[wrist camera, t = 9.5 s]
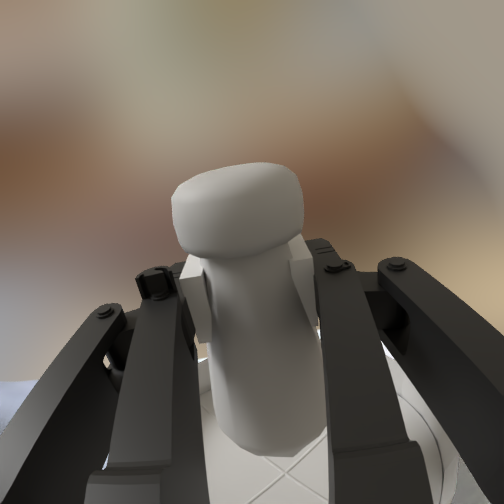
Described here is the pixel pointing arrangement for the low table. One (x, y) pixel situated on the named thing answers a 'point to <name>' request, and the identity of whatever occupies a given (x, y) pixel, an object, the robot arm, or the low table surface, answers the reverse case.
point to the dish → (314, 456)
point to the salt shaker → (254, 306)
